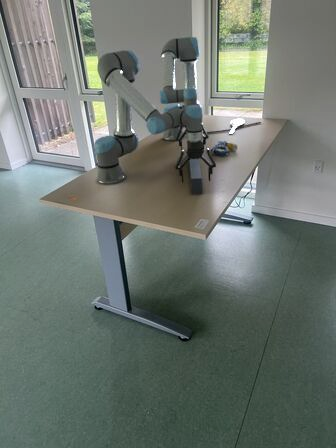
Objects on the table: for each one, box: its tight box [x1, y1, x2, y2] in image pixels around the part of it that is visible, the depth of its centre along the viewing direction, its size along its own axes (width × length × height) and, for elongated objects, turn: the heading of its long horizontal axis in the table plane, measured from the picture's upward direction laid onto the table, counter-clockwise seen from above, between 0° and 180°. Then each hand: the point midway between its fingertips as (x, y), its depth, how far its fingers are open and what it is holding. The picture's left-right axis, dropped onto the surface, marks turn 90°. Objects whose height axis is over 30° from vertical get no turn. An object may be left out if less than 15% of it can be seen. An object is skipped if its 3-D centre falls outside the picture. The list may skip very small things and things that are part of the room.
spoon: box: [228, 118, 245, 135], centre depth 259 cm, size 35×11×2 cm, turn 159°
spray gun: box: [209, 140, 238, 157], centre depth 214 cm, size 21×4×15 cm
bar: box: [188, 158, 203, 195], centre depth 189 cm, size 60×5×8 cm, turn 179°
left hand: (196, 180), depth 170 cm, fingers open, 13 cm apart
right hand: (192, 150), depth 209 cm, fingers open, 13 cm apart
